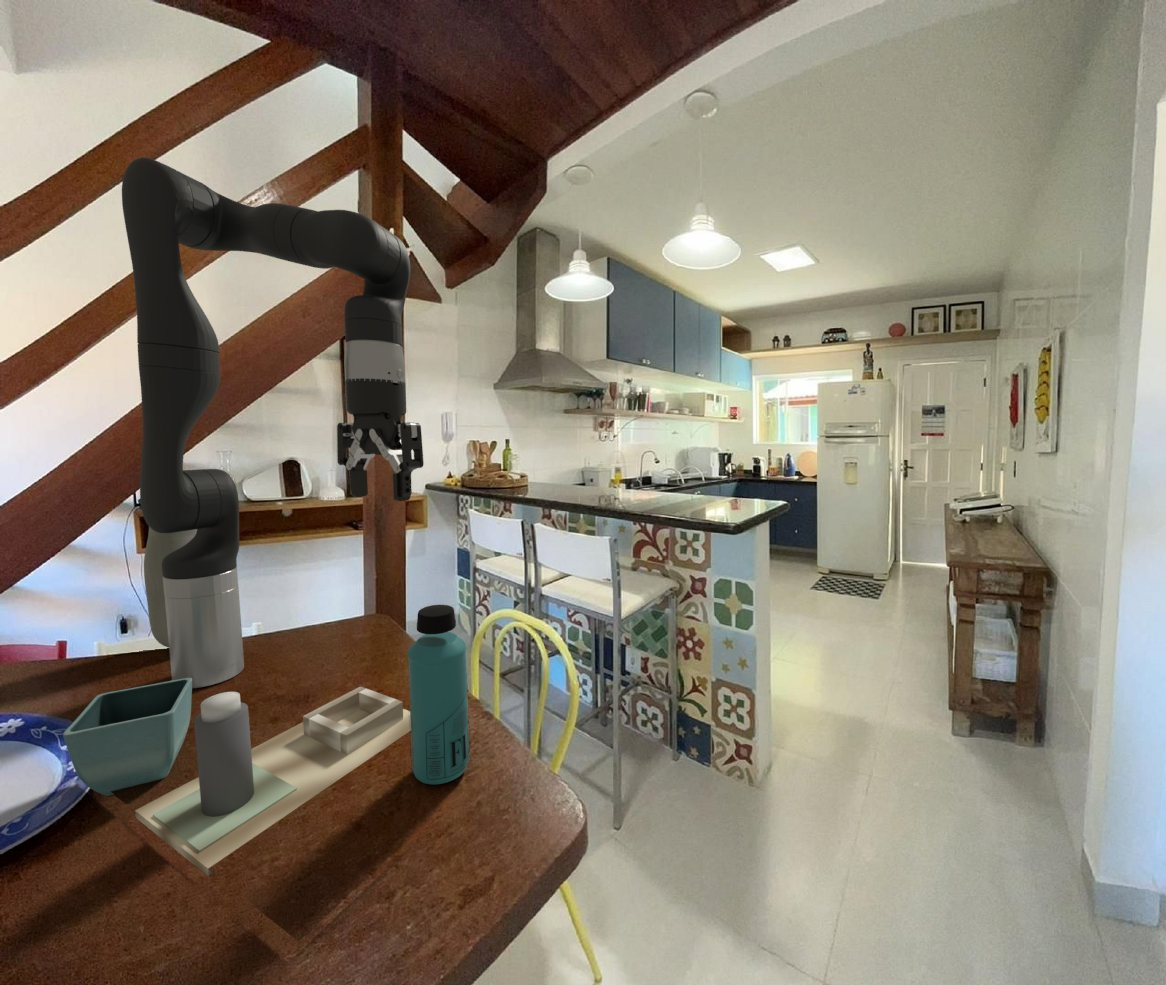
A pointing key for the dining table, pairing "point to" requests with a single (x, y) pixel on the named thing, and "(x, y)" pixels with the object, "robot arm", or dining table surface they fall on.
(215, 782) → the grey capped cylinder
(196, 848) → the cream tray
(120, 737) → the flower pot
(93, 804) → the dining table surface
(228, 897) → the dining table surface
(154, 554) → the grey tall rounded piece
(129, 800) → the dining table surface
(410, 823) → the dining table surface
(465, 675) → the beverage bottle
